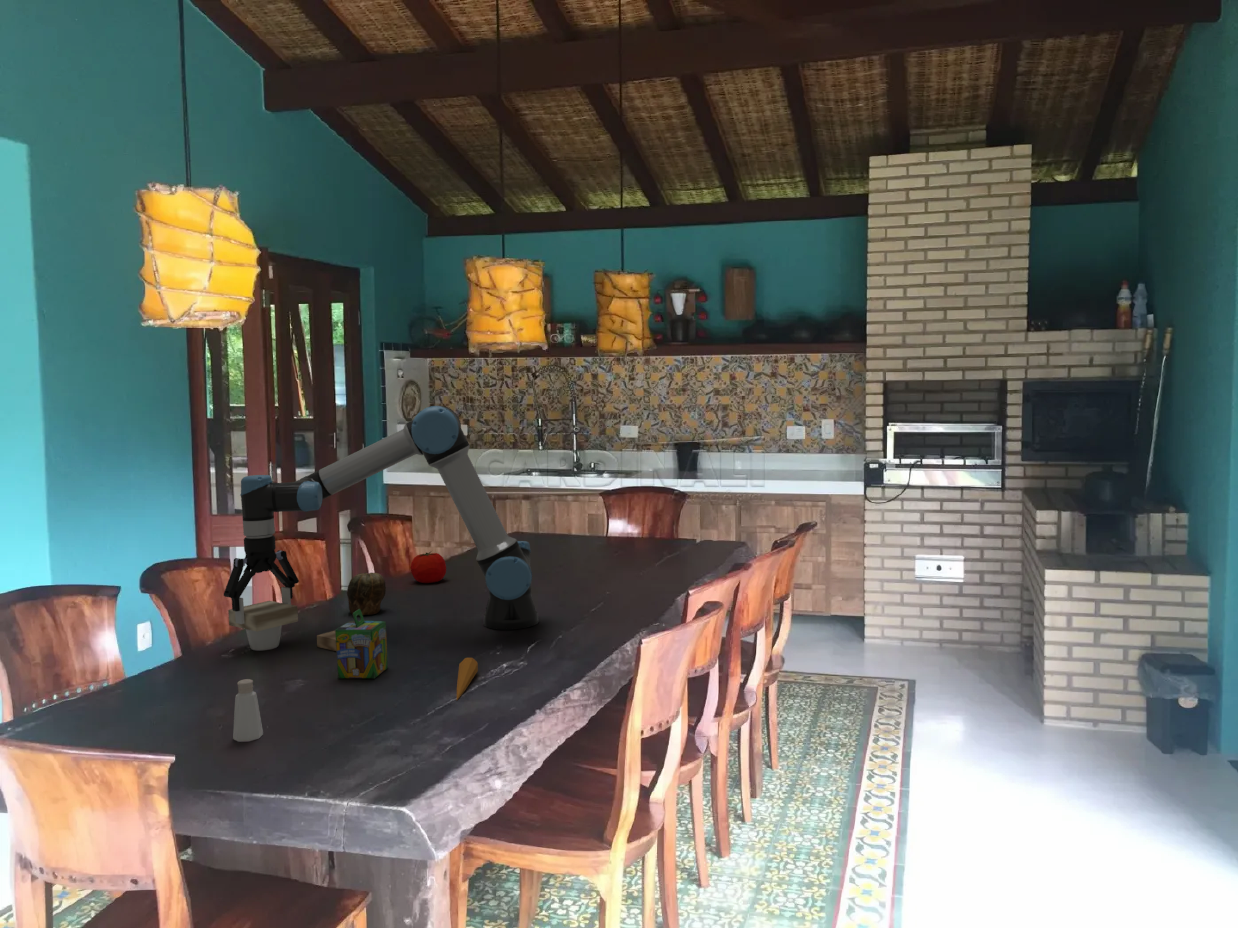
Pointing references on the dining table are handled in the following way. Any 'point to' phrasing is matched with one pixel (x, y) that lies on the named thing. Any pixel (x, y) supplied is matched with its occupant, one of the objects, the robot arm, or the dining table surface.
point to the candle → (264, 638)
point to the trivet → (327, 640)
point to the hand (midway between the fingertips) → (264, 617)
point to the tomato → (428, 567)
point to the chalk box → (361, 648)
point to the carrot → (466, 674)
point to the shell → (366, 593)
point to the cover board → (265, 615)
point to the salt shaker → (246, 713)
